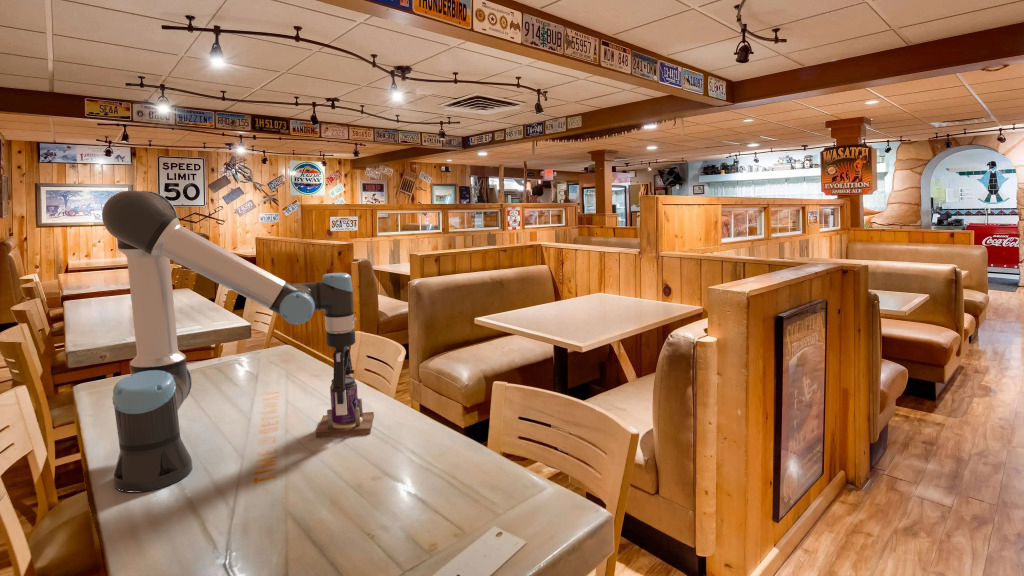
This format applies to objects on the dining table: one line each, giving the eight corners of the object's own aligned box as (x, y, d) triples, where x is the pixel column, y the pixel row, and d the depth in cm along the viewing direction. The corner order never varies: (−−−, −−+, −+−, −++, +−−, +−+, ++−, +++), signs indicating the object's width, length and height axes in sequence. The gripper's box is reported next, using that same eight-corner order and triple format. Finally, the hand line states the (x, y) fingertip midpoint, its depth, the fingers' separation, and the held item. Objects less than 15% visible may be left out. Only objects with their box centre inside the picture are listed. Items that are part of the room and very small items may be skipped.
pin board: (370, 433, 151) (369, 410, 150) (316, 437, 148) (314, 414, 147) (373, 416, 162) (372, 395, 161) (323, 420, 160) (322, 398, 159)
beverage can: (351, 427, 151) (348, 384, 149) (327, 425, 152) (324, 383, 150) (363, 417, 158) (361, 376, 156) (340, 415, 159) (337, 375, 157)
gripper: (349, 340, 139) (353, 421, 143) (359, 320, 164) (363, 389, 167) (317, 342, 138) (323, 423, 142) (332, 321, 163) (337, 391, 166)
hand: (344, 405), depth 154 cm, fingers open, 13 cm apart
